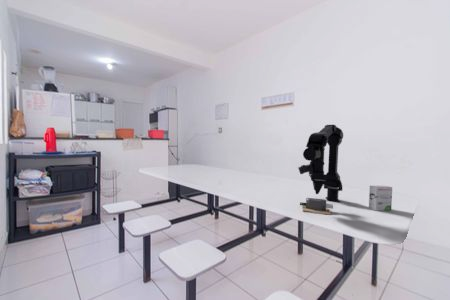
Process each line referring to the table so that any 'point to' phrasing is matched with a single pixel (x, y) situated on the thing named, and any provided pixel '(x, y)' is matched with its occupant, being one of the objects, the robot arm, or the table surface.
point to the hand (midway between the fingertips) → (316, 191)
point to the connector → (316, 204)
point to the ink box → (380, 198)
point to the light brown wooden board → (316, 211)
